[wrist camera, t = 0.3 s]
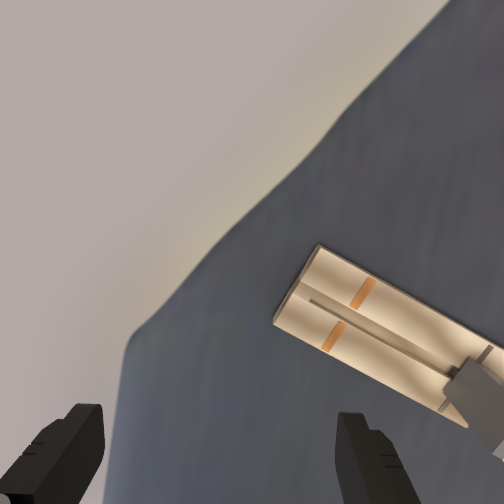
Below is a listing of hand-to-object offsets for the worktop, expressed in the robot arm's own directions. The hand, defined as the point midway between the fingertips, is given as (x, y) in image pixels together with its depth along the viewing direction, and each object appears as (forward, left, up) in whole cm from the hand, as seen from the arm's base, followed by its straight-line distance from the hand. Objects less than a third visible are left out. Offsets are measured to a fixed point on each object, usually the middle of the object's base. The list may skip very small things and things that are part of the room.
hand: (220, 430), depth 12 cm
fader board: (-9, -17, -29) cm, 35 cm away
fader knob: (-13, -25, -29) cm, 41 cm away
